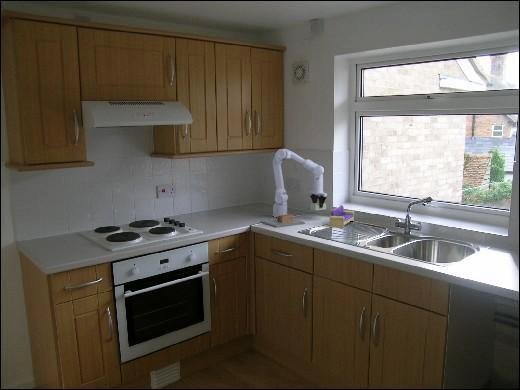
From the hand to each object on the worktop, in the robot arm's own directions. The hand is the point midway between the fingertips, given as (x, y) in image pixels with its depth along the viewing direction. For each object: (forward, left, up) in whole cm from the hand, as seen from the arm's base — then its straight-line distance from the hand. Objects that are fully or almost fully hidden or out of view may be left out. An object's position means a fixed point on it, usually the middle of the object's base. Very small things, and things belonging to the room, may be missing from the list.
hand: (318, 206), depth 284 cm
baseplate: (-3, -25, -8) cm, 26 cm away
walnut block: (-2, -23, -7) cm, 24 cm away
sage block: (0, 0, -2) cm, 2 cm away
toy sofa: (+19, +3, -8) cm, 21 cm away
